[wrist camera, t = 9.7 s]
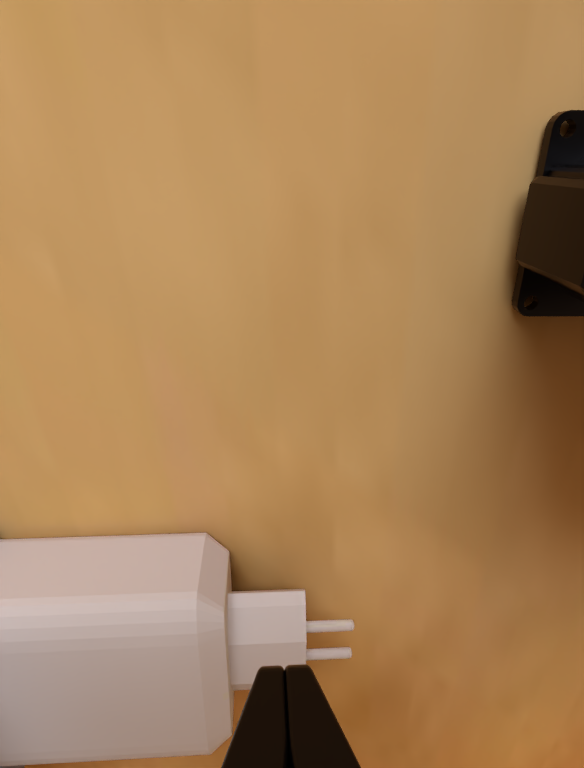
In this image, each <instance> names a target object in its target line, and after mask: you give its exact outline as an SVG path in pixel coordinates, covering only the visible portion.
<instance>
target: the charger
mask: <svg viewBox="0 0 584 768" xmlns="http://www.w3.org/2000/svg"><path fill="white" fill-rule="evenodd" d="M353 629H354V622H353V620H352V619H340V620H317V621H306V598H305V590H304V589H285V590H259V591H234V592H232V583H231V565H230V552H229V551H228V550H227V549H226V548H225V547H223V546H222V545H221V544H220V543H218V542H217V541H216V540H215V539H213V538H212V537H211V536H210V535H208V534H207V533H181V534H151V535H121V536H91V537H61V538H30V539H0V766H18V765H35V764H53V763H71V762H88V761H106V760H123V759H141V758H159V757H176V756H194V755H211V754H212V753H213V752H214V751H215V750H216V749H217V748H218V747H219V746H221V745H222V744H223V743H224V742H225V741H226V740H227V739H228V738H229V737H230V736H232V732H233V711H234V690H251V687H252V684H253V681H254V679H255V676H256V673H257V671H258V669H259V668H260V667H262V666H277V665H280V666H282V667H283V668H284V670H285V667H286V666H287V665H300V664H306V661H307V660H328V659H349V658H351V657H352V650H351V648H350V647H334V648H313V649H306V644H307V639H306V633H316V632H338V631H352V630H353Z"/></svg>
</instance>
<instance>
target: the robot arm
mask: <svg viewBox="0 0 584 768" xmlns="http://www.w3.org/2000/svg"><path fill="white" fill-rule="evenodd" d="M564 121H567V123H568V124H569V130H568V132H567V134H566V135H565V136H564V137H562V136H561V134H560V127H561V124H562V123H563V122H564ZM516 260H517V261H518V262H519V268H518V273H517V279H516V284H515V289H514V294H513V299H512V305H513V307H514V309H515V310H516V311H517V312H519V313H520V314H522V315H524V316H584V110H570V111H563V112H558V113H557V114H555V115H554V116H552V118H551V119H550V120H549V122H548V124H547V126H546V129H545V134H544V139H543V145H542V150H541V155H540V160H539V165H538V170H537V175H536V178H535V179H534V180H533V181H532V182H531V184H530V186H529V191H528V196H527V202H526V207H525V212H524V217H523V223H522V228H521V233H520V239H519V244H518V249H517V254H516ZM529 296H533V301H532V303H531V304H530V305H529V306H526V307H524V302H525V300H526V299H527V298H528V297H529ZM221 768H361V767H360V765H359V763H358V761H357V759H356V757H355V755H354V753H353V751H352V749H351V747H350V745H349V743H348V741H347V739H346V737H345V735H344V733H343V731H342V729H341V727H340V725H339V723H338V721H337V719H336V717H335V715H334V713H333V711H332V709H331V707H330V705H329V703H328V701H327V699H326V697H325V695H324V693H323V691H322V689H321V687H320V685H319V683H318V681H317V679H316V677H315V675H314V673H313V671H312V669H311V668H310V666H308V665H307V664H300V665H287V666H286V667H285V670H284V668H283V667H282V666H280V665H277V666H262V667H260V668H259V669H258V671H257V673H256V676H255V679H254V681H253V684H252V687H251V690H250V692H249V695H248V698H247V700H246V703H245V706H244V708H243V711H242V714H241V716H240V719H239V722H238V724H237V727H236V730H235V732H234V735H233V738H232V740H231V743H230V746H229V748H228V751H227V754H226V756H225V759H224V762H223V764H222V767H221Z"/></svg>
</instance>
